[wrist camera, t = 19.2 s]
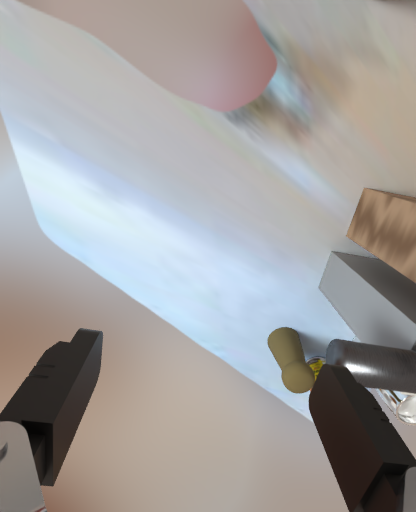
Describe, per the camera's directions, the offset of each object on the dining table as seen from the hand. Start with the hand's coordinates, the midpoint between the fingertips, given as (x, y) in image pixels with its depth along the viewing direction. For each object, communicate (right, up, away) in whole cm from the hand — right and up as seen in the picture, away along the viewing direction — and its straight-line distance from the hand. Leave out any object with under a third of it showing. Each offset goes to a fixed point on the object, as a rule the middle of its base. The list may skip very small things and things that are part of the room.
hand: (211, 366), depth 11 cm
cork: (+14, -12, +46) cm, 50 cm away
